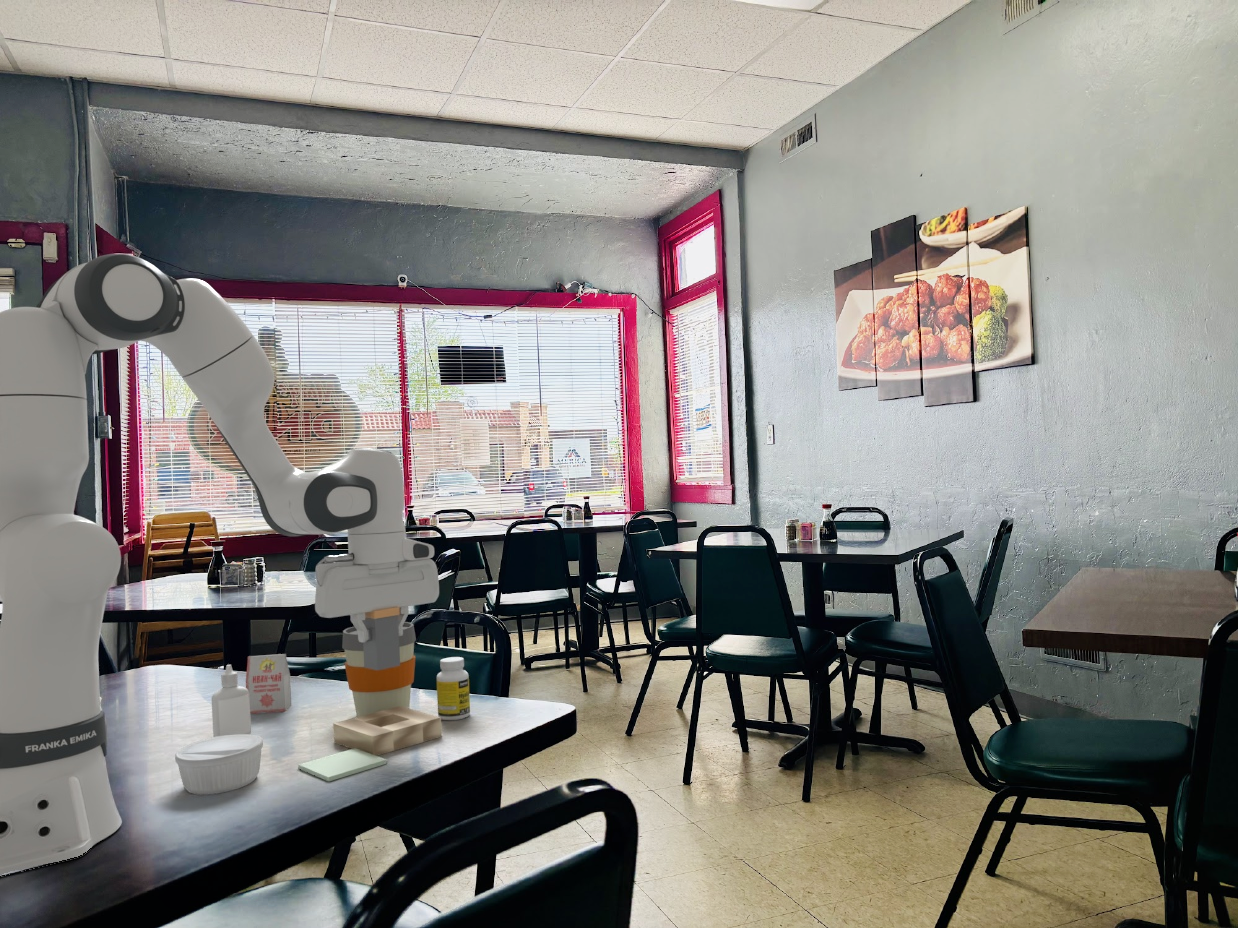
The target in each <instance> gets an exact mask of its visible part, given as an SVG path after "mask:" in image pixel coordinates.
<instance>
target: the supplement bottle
mask: <svg viewBox="0 0 1238 928" xmlns="http://www.w3.org/2000/svg"><path fill="white" fill-rule="evenodd" d="M439 664H440V665H439V666H440V670H441V671H440V672H438V673H437V675H436V695H437V696H436V697H437V699H436V700H437V701H436V702H437V716H438V717H441V721H442V720H443V721H459V720H462V719H465V717H466V718H468V717H469V716H470V715H471V707H470V706H471V704H470V703H471V702H470V700H471V698H470V679H469V676H470V675H469V673H468V672H467V671H466V670H465V669H464V667H465V659H464V657H462V656H461V657H460V656H451V657H446V658H442V659H440V660H439Z"/></svg>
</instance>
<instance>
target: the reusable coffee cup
mask: <svg viewBox="0 0 1238 928" xmlns="http://www.w3.org/2000/svg"><path fill="white" fill-rule="evenodd" d="M414 626H415V625H414V624H413V623H412V622H410V621H409V622H408V621H405V622H404V624H403V635H402V636H399V649H400V666H396V667H391V668H387V669H382V670H373V669H369V668H364V650H363V642H359V640H358V630H357V629H356V628H355V626H354V625H353V626H352V627H351V626H350V627H347V628H345V629H344V630H342V645H341V647H342V649H343V650H344V654H345V659H346V661H345V663H344V668H345V673H346V679H347V683H348V685H347V686H348V689H349V690H350V691H351V692H352V697H353V703H354V708H355V713H356V717H360V716H364V715H368V714H372V713H375V712H379V711H383V710H387V709H391V708H395V707H398V706H401V707H405V708H409V709H410V703H411V691H412V689H411V688H412V684H413V683H414V682H415V681H414V680H415V667H416V655H414V649H415V642H416V641H417V638H416V632H415V627H414Z"/></svg>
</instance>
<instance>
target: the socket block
mask: <svg viewBox="0 0 1238 928" xmlns="http://www.w3.org/2000/svg"><path fill="white" fill-rule="evenodd" d="M332 725H333V727H332V728H333V743H335V744H337V745H340V746H342V747H343V746H344V747H345V748H349V749H354V748H356V749H359V750H362V751H364V752H367V753H370V754H373V755H375V756H378V757H379V756H381V755H384V754H388V753H391V752H395V751H398V750H401V749H404V748H408V747H411V746H415V745H418V744H421V743H424V742H427V741H430V740H431V741H432V740H434V739H438V738H441V737H443V735H442V732H443V731H442V730H443V729H442V719H441V717H438V715H433V714H430V713H426V712H422V711H420V710H416V709H411V708H410V707H409V708H405V707H401V706H398V707H395V708H391V709H387V710H383V711H379V712H375V713H372V714H368V715H364V716H360V717H357V716H356V717H353V718H349V719H345V720H341V721H338V722H334V723H333V724H332Z"/></svg>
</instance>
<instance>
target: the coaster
mask: <svg viewBox="0 0 1238 928" xmlns="http://www.w3.org/2000/svg"><path fill="white" fill-rule="evenodd" d="M387 763H388V762H387V759H386V758H383V757H381V756H379V755H378V756H375V755H373V754H370V753H367V752H364V751H362V750H359V749H356V748H354V749H351V748H349V749H348V750H344V751H340V752H336V753H334V754H331V755H326V756H322V757H320V758H317V759H313V760H310V761H306V762H303V763H298V764H297V765H298V766H297V767H298V769H299V770H300V769H301V771H302V772H306V773H307V772H308V774H310V775H312V776H314V775H315V776H314V777H317V778H319V779H321V780H324V781H326V782H331V781H335V780H339V779H342V778H344V777H347V776H351V775H354V774H358V773H361V772H364V771H367V770H370V769H373V768H377V767H380V766H385V765H387Z"/></svg>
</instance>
